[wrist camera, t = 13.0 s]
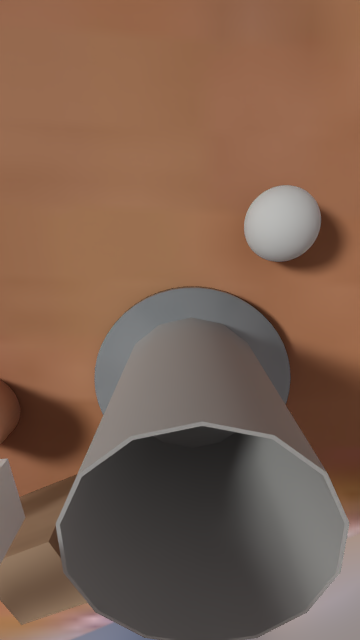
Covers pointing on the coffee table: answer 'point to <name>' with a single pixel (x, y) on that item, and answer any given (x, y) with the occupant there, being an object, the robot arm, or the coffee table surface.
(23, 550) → the walnut block
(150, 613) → the cup
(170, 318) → the coaster
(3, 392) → the peach capsule shape
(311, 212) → the grey ball
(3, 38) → the coffee table surface
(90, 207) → the coffee table surface
